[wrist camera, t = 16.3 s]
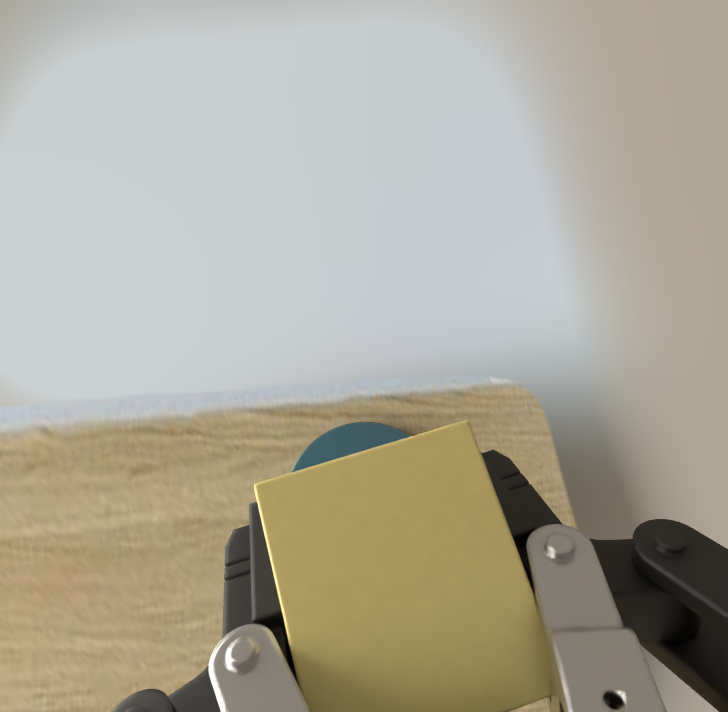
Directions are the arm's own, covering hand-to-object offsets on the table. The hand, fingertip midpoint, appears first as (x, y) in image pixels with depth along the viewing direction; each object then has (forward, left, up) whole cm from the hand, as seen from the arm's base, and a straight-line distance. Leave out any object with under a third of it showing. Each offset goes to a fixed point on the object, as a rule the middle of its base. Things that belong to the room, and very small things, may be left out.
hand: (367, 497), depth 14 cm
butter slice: (+1, +2, -4) cm, 4 cm away
